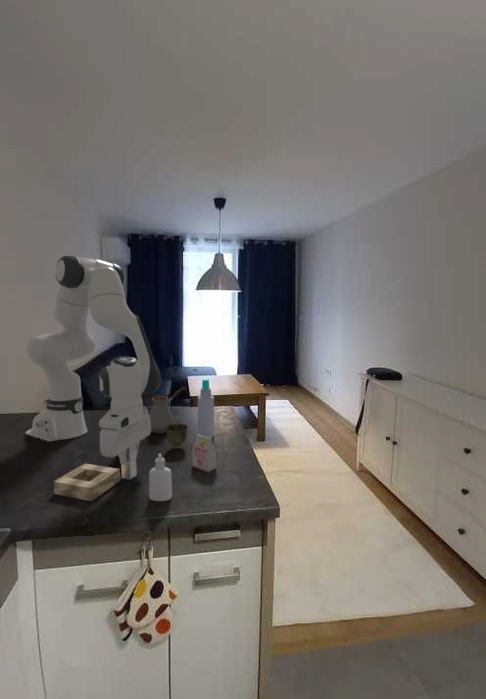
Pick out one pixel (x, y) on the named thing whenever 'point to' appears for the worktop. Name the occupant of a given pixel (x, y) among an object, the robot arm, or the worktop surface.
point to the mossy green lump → (176, 435)
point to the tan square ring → (87, 482)
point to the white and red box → (203, 453)
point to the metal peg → (130, 464)
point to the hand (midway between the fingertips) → (128, 460)
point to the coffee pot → (161, 413)
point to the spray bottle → (206, 411)
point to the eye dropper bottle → (160, 481)
